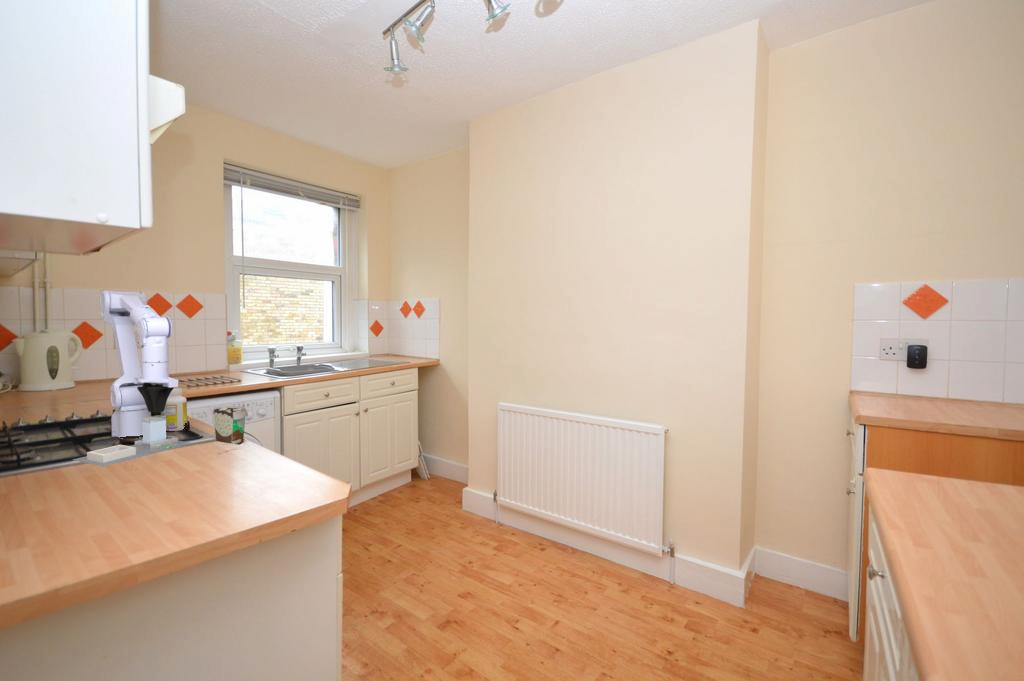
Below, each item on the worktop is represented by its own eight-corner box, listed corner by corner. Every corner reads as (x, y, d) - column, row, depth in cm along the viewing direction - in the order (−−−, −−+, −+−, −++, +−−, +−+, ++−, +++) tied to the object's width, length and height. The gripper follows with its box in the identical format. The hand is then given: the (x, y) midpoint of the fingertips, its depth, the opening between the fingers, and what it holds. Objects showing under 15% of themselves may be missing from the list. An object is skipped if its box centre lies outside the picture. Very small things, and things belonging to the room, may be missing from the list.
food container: (256, 443, 131) (256, 409, 131) (234, 448, 126) (234, 412, 125) (234, 436, 138) (234, 403, 137) (212, 440, 132) (212, 406, 132)
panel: (72, 463, 110) (72, 459, 110) (162, 441, 130) (162, 438, 130) (104, 470, 106) (104, 466, 106) (192, 446, 126) (192, 443, 126)
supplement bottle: (181, 426, 147) (180, 387, 146) (191, 429, 144) (190, 389, 143) (156, 430, 141) (156, 389, 141) (167, 433, 138) (166, 392, 137)
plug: (142, 447, 121) (142, 418, 120) (158, 443, 125) (158, 415, 124) (150, 448, 120) (149, 419, 120) (166, 444, 124) (165, 416, 123)
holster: (87, 459, 111) (86, 452, 110) (120, 451, 117) (120, 444, 117) (103, 462, 109) (103, 455, 108) (136, 454, 115) (135, 447, 115)
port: (134, 447, 120) (134, 441, 120) (162, 441, 127) (162, 434, 127) (155, 451, 118) (155, 444, 118) (183, 444, 125) (183, 438, 124)
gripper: (120, 361, 120) (121, 411, 121) (157, 364, 115) (158, 417, 116) (149, 359, 127) (150, 407, 128) (185, 362, 122) (186, 411, 123)
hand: (156, 411), depth 122 cm, fingers closed
